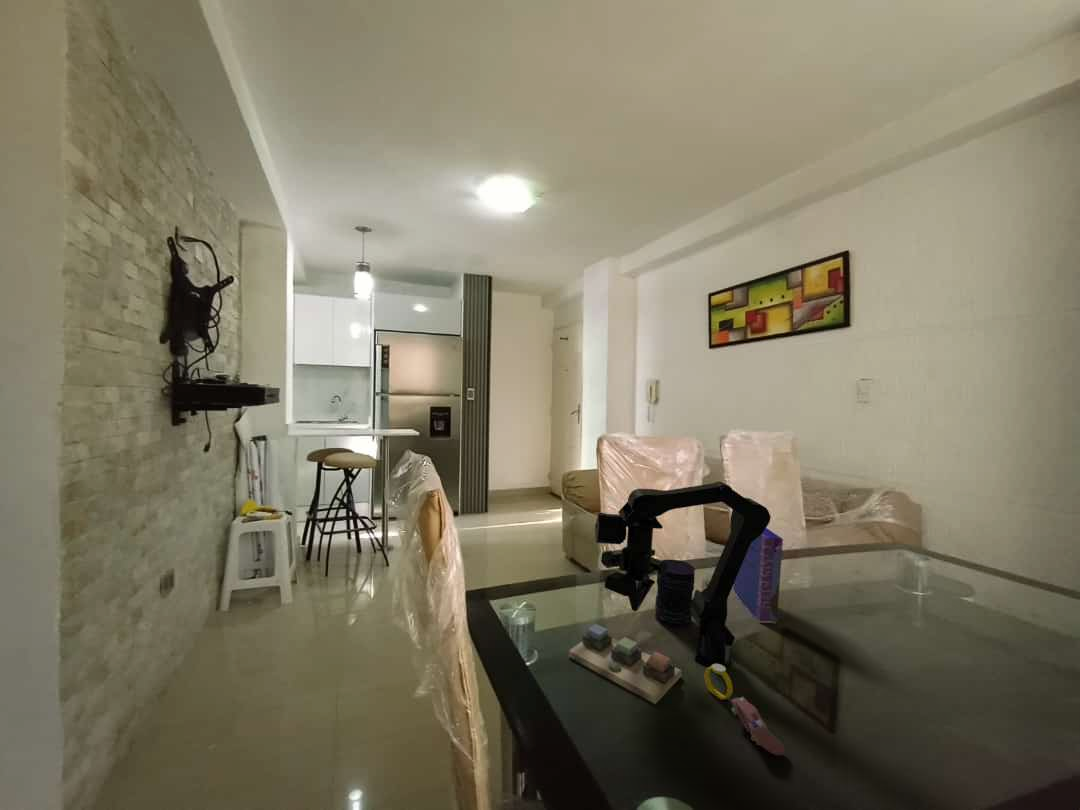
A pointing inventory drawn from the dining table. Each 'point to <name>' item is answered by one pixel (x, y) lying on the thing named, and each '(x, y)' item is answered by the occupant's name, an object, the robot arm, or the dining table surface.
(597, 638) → the slate button
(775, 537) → the cereal box
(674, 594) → the storage jar
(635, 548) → the robot arm
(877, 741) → the dining table surface
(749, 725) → the pink shoe
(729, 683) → the gold ring
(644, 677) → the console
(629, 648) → the sage button
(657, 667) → the terracotta button
